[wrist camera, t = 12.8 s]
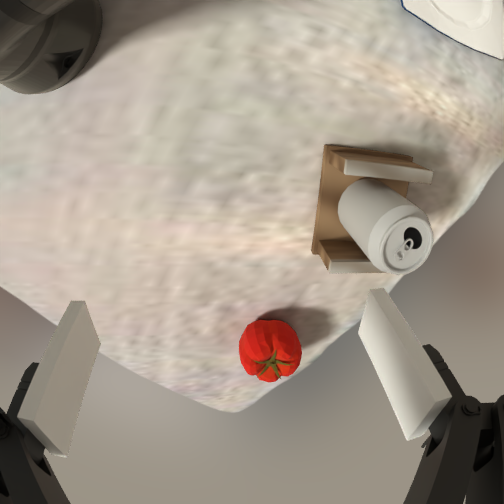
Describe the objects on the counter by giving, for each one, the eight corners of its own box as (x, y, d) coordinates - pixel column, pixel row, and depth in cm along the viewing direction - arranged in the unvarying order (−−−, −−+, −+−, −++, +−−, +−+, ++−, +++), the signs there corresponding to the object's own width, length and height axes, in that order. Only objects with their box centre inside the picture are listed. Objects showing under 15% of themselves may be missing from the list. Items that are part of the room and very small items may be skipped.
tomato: (303, 339, 49) (313, 373, 43) (253, 360, 51) (258, 395, 44) (279, 298, 45) (288, 334, 39) (225, 323, 46) (226, 360, 40)
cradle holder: (324, 144, 35) (343, 155, 30) (409, 155, 37) (437, 168, 31) (311, 250, 42) (324, 277, 36) (389, 251, 43) (410, 275, 37)
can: (398, 204, 39) (449, 245, 28) (358, 242, 41) (398, 294, 30) (366, 164, 36) (418, 195, 25) (323, 205, 38) (359, 251, 27)
